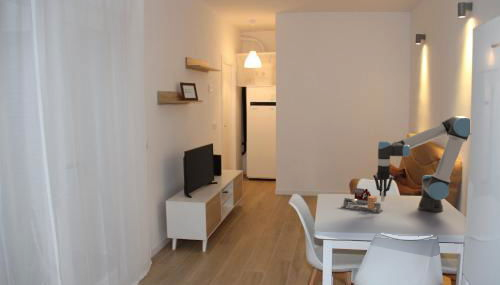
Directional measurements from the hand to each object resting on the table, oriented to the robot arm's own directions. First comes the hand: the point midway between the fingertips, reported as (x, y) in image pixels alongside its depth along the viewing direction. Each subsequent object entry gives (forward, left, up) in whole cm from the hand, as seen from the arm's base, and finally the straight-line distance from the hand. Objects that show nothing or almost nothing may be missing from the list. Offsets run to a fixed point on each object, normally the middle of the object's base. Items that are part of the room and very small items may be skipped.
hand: (382, 201), depth 283 cm
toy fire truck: (+20, -18, -8) cm, 28 cm away
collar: (+7, 0, -5) cm, 9 cm away
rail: (+14, 0, -8) cm, 16 cm away
